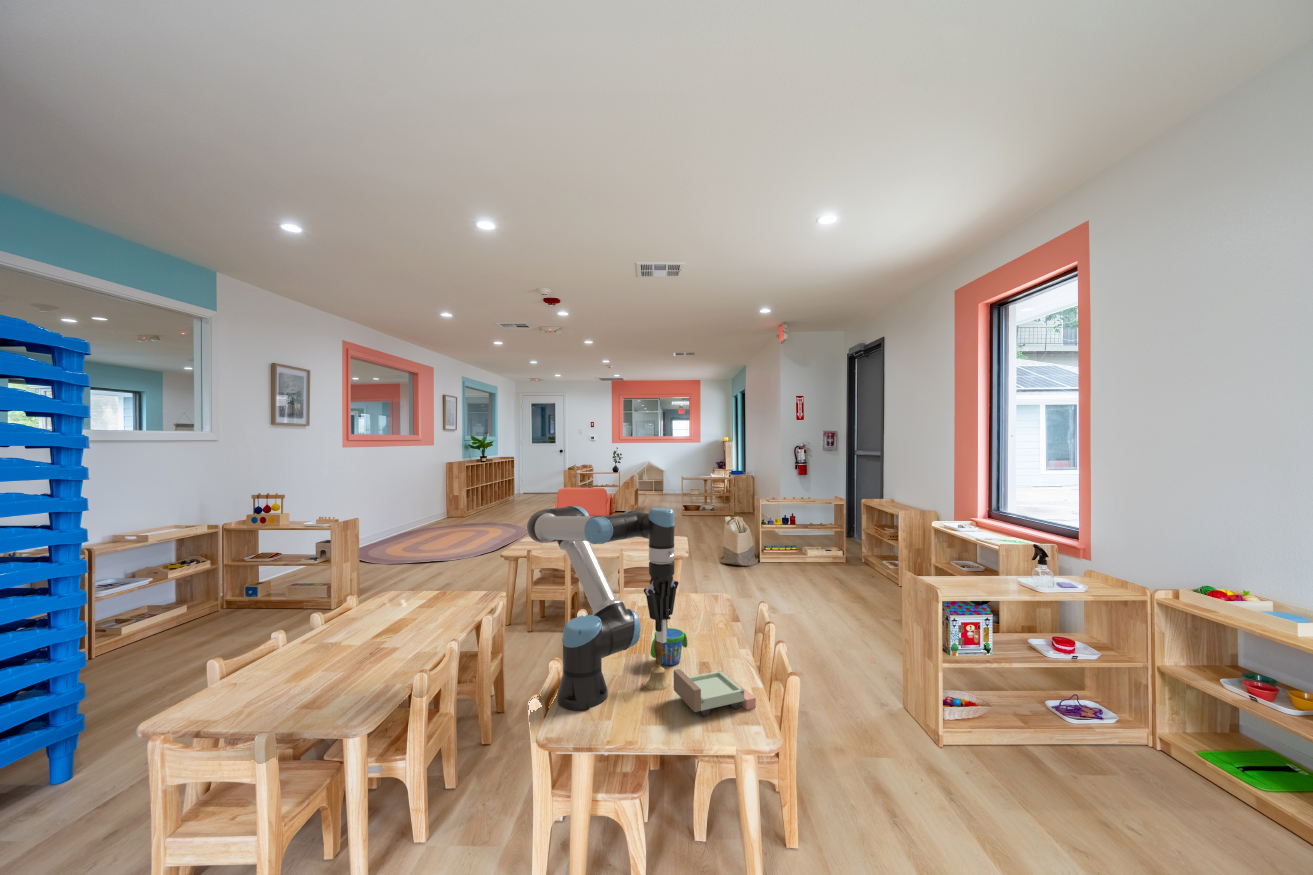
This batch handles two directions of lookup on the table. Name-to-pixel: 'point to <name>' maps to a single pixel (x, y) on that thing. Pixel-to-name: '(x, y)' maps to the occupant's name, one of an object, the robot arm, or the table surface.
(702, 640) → the table surface
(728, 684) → the pale green tray
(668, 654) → the snack cup
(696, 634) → the table surface
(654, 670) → the hand bell
